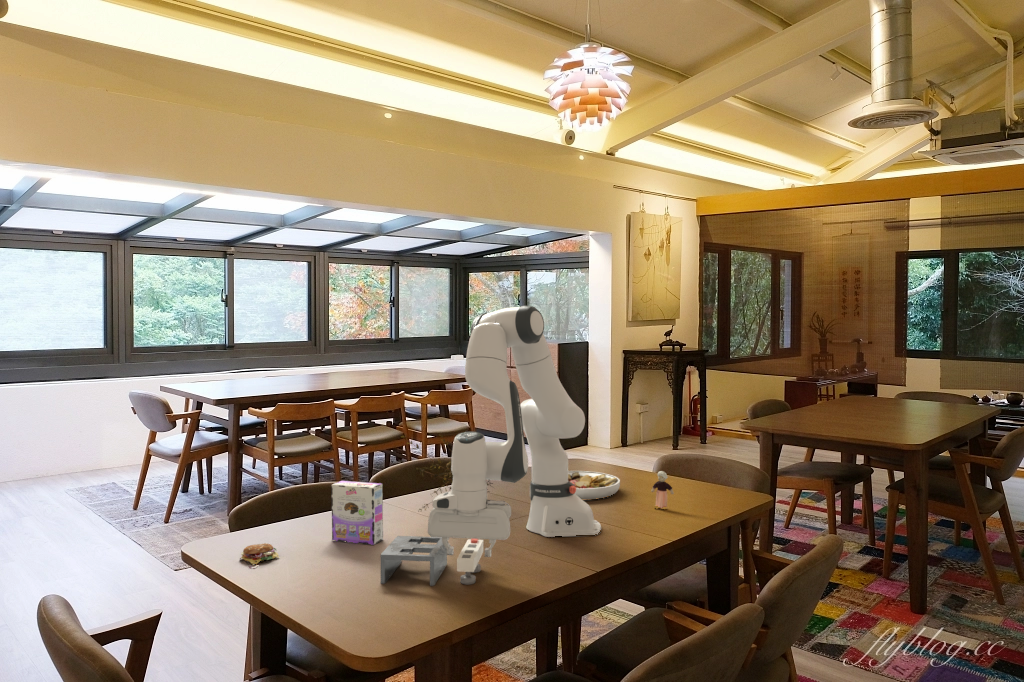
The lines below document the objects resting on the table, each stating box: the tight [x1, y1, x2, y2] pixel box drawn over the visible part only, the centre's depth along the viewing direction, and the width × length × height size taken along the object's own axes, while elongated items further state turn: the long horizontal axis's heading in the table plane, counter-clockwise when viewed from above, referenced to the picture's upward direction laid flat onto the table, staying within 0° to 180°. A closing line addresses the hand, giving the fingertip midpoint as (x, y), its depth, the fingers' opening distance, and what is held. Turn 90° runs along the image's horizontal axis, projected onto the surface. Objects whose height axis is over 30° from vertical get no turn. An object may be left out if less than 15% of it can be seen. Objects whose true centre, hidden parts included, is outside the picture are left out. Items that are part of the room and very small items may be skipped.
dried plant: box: [398, 427, 495, 511], centre depth 229 cm, size 30×31×45 cm
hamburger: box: [239, 542, 280, 568], centre depth 185 cm, size 14×14×6 cm
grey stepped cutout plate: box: [380, 535, 448, 587], centre depth 176 cm, size 13×15×7 cm
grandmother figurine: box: [650, 470, 675, 509], centre depth 236 cm, size 8×4×13 cm, turn 68°
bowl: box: [568, 470, 621, 499], centre depth 260 cm, size 30×30×8 cm
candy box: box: [330, 480, 384, 546], centre depth 202 cm, size 14×6×16 cm, turn 71°
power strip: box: [456, 538, 484, 586], centre depth 174 cm, size 4×15×7 cm, turn 174°
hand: (468, 555), depth 174 cm, fingers open, 8 cm apart
